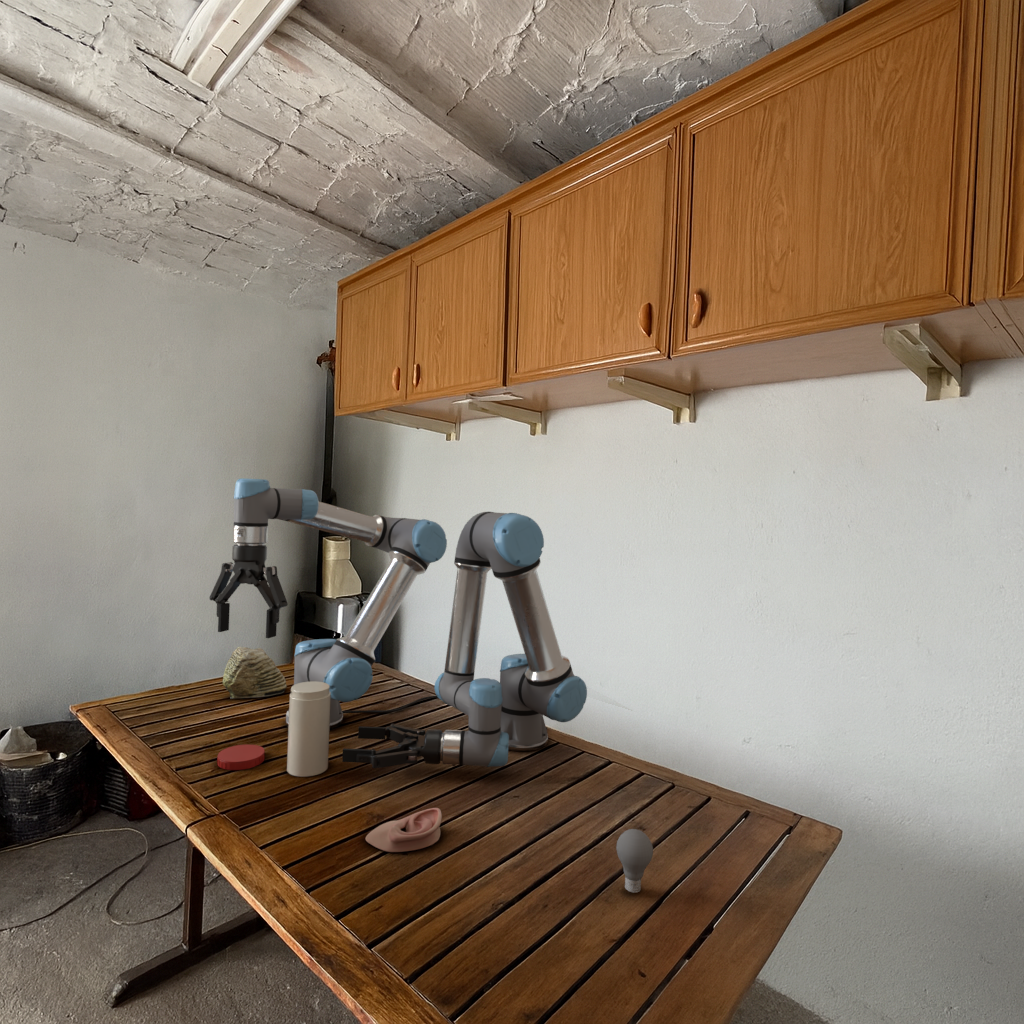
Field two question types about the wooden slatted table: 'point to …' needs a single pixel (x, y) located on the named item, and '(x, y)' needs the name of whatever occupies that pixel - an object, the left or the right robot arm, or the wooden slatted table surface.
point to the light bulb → (634, 857)
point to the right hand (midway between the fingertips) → (350, 743)
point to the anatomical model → (408, 832)
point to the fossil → (252, 674)
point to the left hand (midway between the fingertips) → (246, 634)
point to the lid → (240, 757)
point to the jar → (308, 729)
